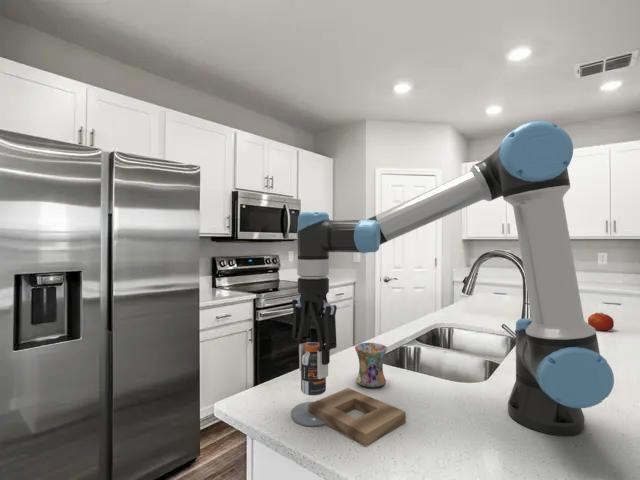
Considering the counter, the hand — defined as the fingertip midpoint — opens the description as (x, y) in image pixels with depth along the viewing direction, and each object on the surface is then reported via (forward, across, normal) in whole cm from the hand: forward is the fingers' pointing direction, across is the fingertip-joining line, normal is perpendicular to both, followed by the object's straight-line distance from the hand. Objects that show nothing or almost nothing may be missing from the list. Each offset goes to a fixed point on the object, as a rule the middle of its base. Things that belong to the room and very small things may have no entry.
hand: (313, 373), depth 86 cm
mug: (+10, +4, -25) cm, 27 cm away
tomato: (+10, -30, -147) cm, 150 cm away
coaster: (+10, 0, 0) cm, 10 cm away
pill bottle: (+4, 0, 0) cm, 4 cm away
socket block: (+10, -8, -6) cm, 14 cm away
